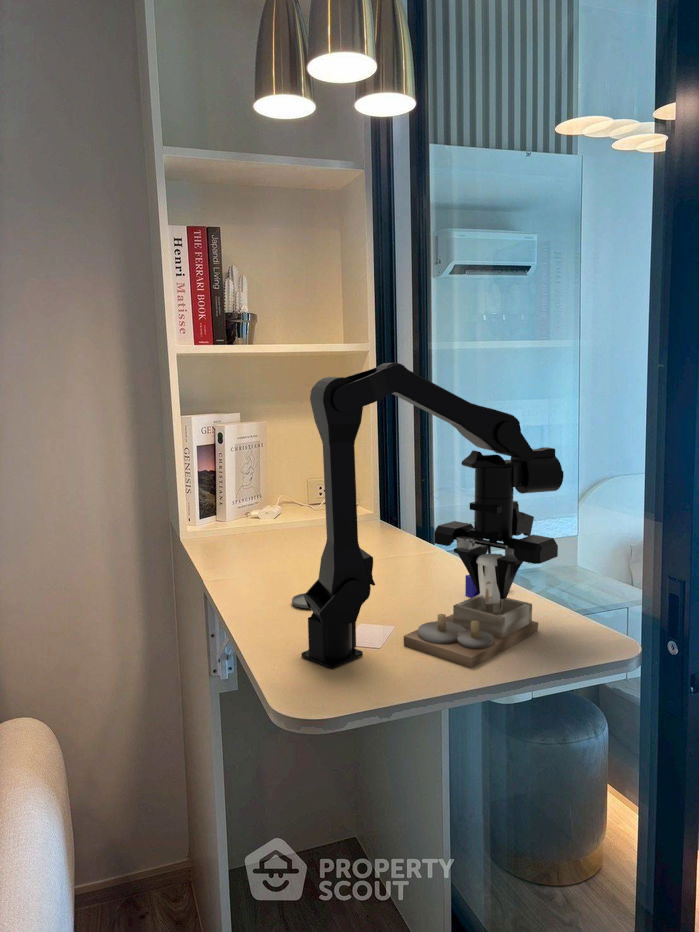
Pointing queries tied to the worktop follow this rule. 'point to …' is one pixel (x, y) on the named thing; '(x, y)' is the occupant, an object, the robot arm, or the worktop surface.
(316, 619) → the robot arm
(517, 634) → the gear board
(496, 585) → the milkshake
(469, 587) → the cable holder
